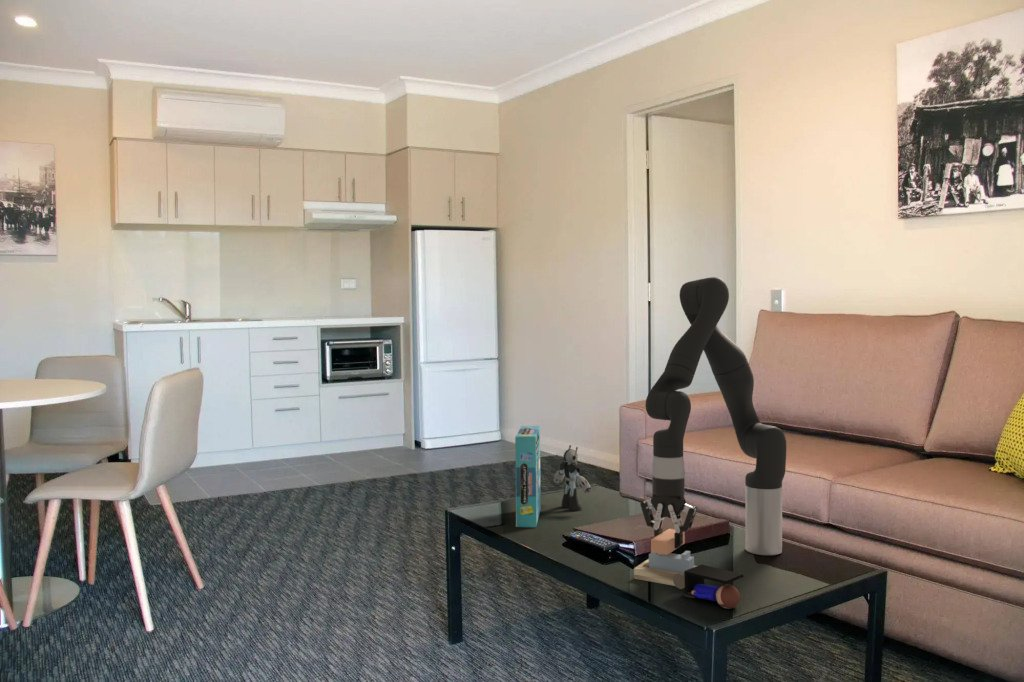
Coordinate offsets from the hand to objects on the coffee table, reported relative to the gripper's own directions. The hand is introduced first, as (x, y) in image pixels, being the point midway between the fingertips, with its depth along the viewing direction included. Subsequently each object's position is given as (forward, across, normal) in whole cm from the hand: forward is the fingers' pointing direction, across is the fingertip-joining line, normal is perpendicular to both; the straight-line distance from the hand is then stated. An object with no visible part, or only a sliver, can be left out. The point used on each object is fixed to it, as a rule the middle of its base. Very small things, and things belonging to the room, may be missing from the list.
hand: (668, 545), depth 199 cm
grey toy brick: (+7, +1, 0) cm, 7 cm away
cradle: (+8, 0, 0) cm, 8 cm away
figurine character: (+8, +13, -10) cm, 19 cm away
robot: (+8, -53, +49) cm, 73 cm away
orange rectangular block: (0, 0, 0) cm, 0 cm away
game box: (+8, -58, +31) cm, 66 cm away
